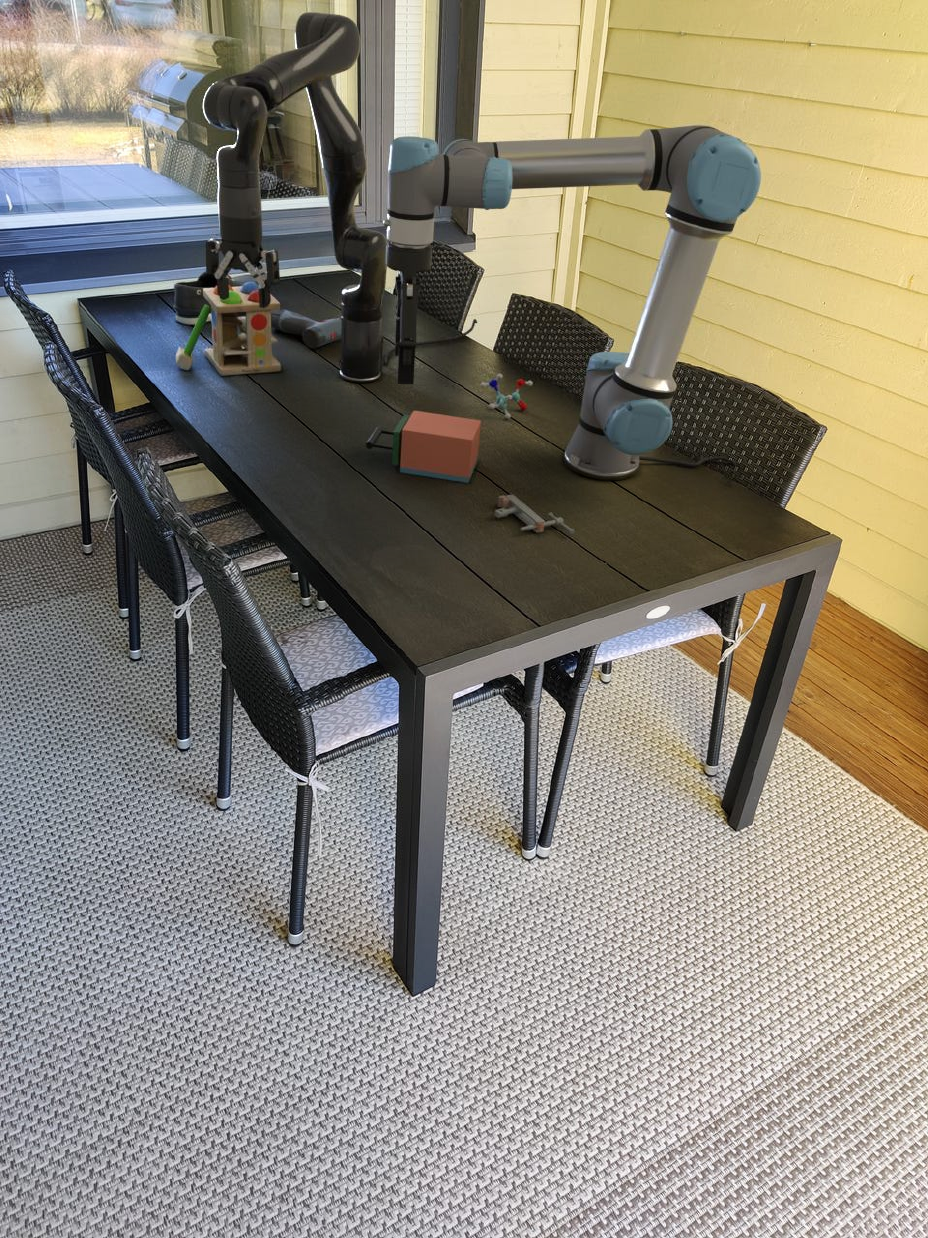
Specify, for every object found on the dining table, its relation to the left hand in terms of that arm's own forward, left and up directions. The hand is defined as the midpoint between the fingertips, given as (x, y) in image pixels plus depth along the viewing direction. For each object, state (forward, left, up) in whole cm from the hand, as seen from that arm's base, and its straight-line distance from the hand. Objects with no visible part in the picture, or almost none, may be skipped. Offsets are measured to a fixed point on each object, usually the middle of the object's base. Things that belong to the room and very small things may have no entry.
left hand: (244, 302), depth 184 cm
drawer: (-13, +32, -26) cm, 43 cm away
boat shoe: (-55, -62, -27) cm, 87 cm away
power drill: (-57, -32, -27) cm, 71 cm away
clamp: (-7, +62, -27) cm, 68 cm away
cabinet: (-15, +36, -27) cm, 48 cm away
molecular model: (-49, +31, -27) cm, 64 cm away
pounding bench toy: (-25, -32, -27) cm, 49 cm away
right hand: (-1, +36, -3) cm, 36 cm away
